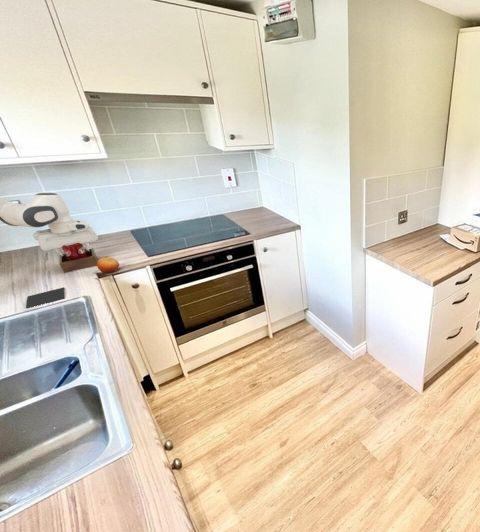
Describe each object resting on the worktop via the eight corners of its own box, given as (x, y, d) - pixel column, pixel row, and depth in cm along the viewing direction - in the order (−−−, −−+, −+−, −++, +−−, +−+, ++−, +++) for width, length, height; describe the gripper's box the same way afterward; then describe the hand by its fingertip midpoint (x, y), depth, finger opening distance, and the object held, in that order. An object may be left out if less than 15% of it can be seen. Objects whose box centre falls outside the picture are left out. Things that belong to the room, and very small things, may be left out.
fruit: (97, 266, 155) (102, 252, 153) (118, 271, 159) (123, 258, 158) (91, 274, 148) (96, 259, 147) (112, 279, 153) (117, 265, 151)
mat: (26, 308, 126) (25, 307, 126) (28, 297, 133) (27, 296, 133) (64, 298, 133) (64, 297, 133) (64, 288, 140) (63, 287, 140)
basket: (64, 273, 152) (59, 263, 150) (64, 264, 160) (59, 254, 158) (99, 265, 160) (94, 256, 157) (97, 256, 168) (92, 248, 165)
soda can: (71, 269, 155) (59, 246, 150) (71, 264, 160) (60, 241, 155) (91, 265, 160) (80, 242, 154) (90, 260, 164) (80, 238, 159)
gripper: (30, 233, 142) (46, 261, 149) (91, 223, 155) (103, 249, 161) (31, 230, 146) (46, 257, 153) (90, 220, 159) (102, 245, 165)
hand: (76, 253), depth 157 cm, fingers closed on soda can, 7 cm apart
